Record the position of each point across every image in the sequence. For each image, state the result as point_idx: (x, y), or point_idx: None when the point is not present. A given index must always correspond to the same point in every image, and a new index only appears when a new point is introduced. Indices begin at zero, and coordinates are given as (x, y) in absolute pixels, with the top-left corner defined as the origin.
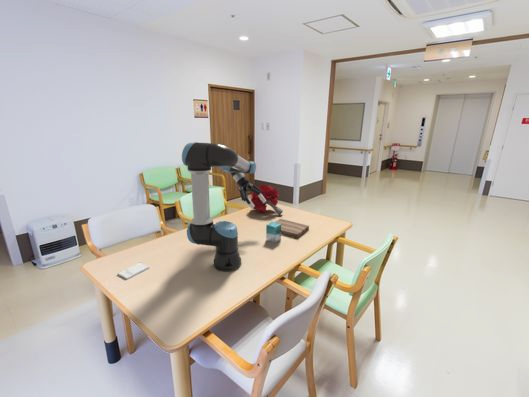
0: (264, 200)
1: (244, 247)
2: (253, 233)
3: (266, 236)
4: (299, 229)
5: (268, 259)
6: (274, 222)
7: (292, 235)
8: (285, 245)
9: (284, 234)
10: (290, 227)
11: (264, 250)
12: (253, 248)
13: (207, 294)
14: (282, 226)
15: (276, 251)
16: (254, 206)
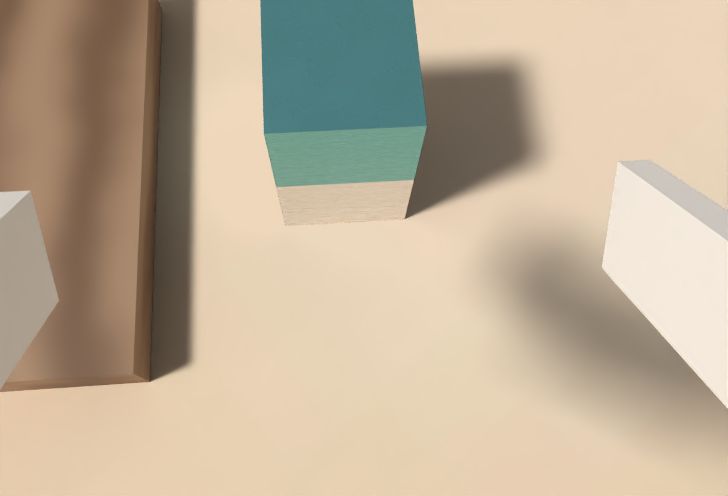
0: (19, 237)
1: None
2: (349, 460)
3: (409, 197)
4: (12, 19)
5: (672, 5)
6: (273, 91)
7: (155, 50)
8: None
9: (155, 146)
10: (8, 120)
11: (583, 111)
12: None
13: None
14: None
15: (520, 25)
16: (631, 164)
